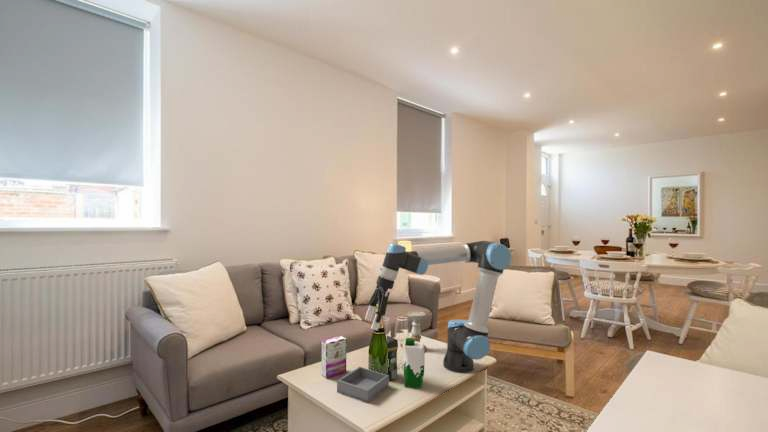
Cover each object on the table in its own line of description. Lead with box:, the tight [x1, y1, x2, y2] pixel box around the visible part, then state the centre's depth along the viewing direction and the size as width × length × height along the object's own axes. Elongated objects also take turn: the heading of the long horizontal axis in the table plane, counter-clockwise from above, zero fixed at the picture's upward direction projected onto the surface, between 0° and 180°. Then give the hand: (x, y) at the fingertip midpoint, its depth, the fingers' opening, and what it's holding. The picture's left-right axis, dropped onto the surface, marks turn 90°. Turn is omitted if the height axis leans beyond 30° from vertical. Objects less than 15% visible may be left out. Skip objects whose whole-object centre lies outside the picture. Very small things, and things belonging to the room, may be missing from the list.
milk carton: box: [403, 337, 426, 390], centre depth 165 cm, size 9×9×20 cm
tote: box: [336, 366, 390, 404], centre depth 160 cm, size 16×17×5 cm
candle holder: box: [406, 310, 428, 352], centre depth 207 cm, size 12×12×20 cm
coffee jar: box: [387, 335, 399, 381], centre depth 172 cm, size 10×8×19 cm
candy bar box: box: [321, 335, 347, 379], centre depth 174 cm, size 11×5×16 cm, turn 129°
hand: (370, 324), depth 160 cm, fingers open, 13 cm apart
